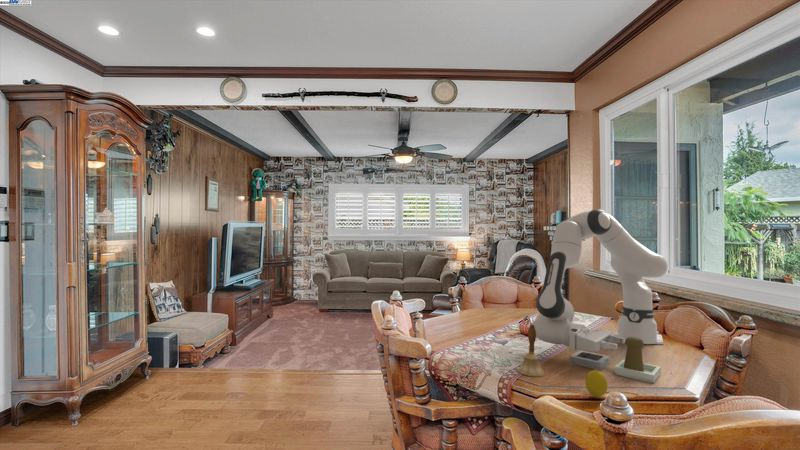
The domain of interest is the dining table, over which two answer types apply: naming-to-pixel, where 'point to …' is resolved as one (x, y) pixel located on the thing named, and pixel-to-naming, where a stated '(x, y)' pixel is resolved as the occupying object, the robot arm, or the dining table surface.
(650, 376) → the sage tray
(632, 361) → the cork
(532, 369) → the hand bell
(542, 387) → the dining table surface
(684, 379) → the dining table surface
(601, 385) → the lemon
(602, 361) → the grey square frame
